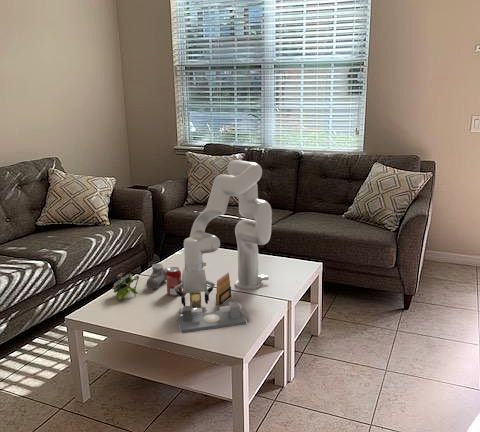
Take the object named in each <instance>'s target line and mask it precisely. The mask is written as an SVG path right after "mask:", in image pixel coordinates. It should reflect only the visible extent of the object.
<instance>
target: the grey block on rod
mask: <svg viewBox="0 0 480 432" xmlns="http://www.w3.org/2000/svg"><path fill="white" fill-rule="evenodd" d="M203 311H204V310H203V307H201V308H193V306H190V305H185V306H183V307H180V308H179V315H182V316H183V322H192V319H193V314H202V313H204V312H203Z"/></svg>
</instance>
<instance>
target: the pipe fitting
mask: <svg viewBox="0 0 480 432" xmlns="http://www.w3.org/2000/svg"><path fill="white" fill-rule="evenodd" d="M151 268H152V273H151V274H150V277H148V279H146V280H147V281H146V286H147V287H148V288H149V289H150V290H156V289H158V288H159V287H160V285H161V284H162V283H163V282H167V280H166V272H167V269H168V268H166V267H165V266H164V265H163V264H162V263H154V264H152V266H151Z"/></svg>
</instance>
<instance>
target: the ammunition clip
mask: <svg viewBox="0 0 480 432" xmlns="http://www.w3.org/2000/svg"><path fill="white" fill-rule="evenodd" d="M231 298H232V286H231V279H230V273H229V272H227V273H225V274H224V275H223V276H221V277H220V278H219V279H217V280H216V293H215V305H216V306H218V307H222V305H223V304H224V303H227V301H228V300H229V299H231Z"/></svg>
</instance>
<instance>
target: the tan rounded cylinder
mask: <svg viewBox="0 0 480 432" xmlns="http://www.w3.org/2000/svg"><path fill="white" fill-rule="evenodd" d="M189 306H193V308H202V292H195V293H189Z"/></svg>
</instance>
